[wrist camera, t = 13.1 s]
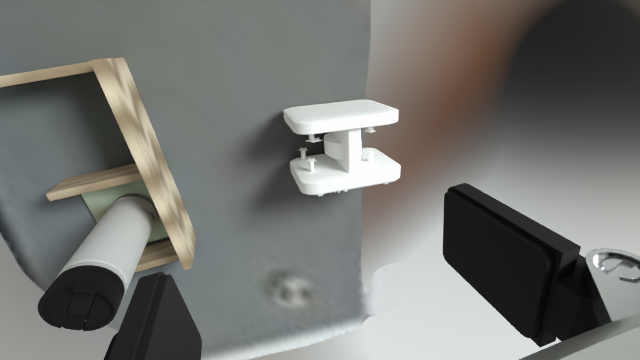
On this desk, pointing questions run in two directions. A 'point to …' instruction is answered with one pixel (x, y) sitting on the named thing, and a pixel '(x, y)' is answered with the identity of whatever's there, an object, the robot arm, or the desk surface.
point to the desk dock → (135, 178)
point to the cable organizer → (341, 146)
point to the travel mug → (100, 267)
